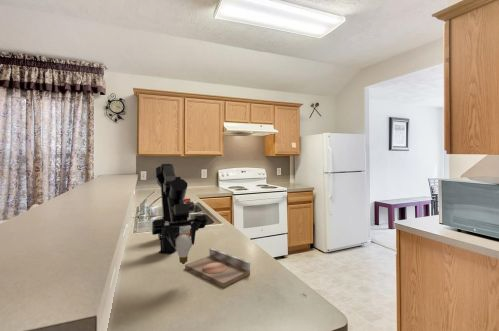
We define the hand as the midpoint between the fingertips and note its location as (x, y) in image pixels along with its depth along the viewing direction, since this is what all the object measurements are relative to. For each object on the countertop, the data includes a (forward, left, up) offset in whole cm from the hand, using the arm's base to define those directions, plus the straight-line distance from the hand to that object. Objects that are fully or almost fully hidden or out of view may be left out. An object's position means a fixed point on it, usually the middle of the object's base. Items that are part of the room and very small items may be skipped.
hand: (184, 245), depth 87 cm
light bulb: (-1, +1, -7) cm, 7 cm away
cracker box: (-27, +47, -13) cm, 56 cm away
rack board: (+8, +11, -13) cm, 19 cm away
